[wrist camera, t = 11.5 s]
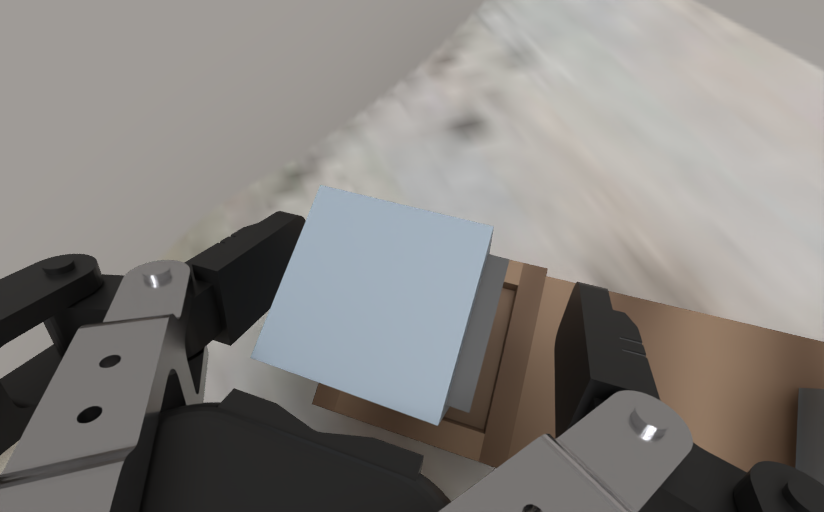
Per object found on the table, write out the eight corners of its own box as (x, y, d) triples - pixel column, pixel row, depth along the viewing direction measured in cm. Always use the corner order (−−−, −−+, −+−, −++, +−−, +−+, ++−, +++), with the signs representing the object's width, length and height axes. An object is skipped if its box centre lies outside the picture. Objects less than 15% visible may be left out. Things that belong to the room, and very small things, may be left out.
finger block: (491, 309, 17) (517, 232, 8) (467, 399, 16) (464, 435, 7) (397, 282, 18) (320, 184, 9) (369, 366, 17) (250, 357, 8)
